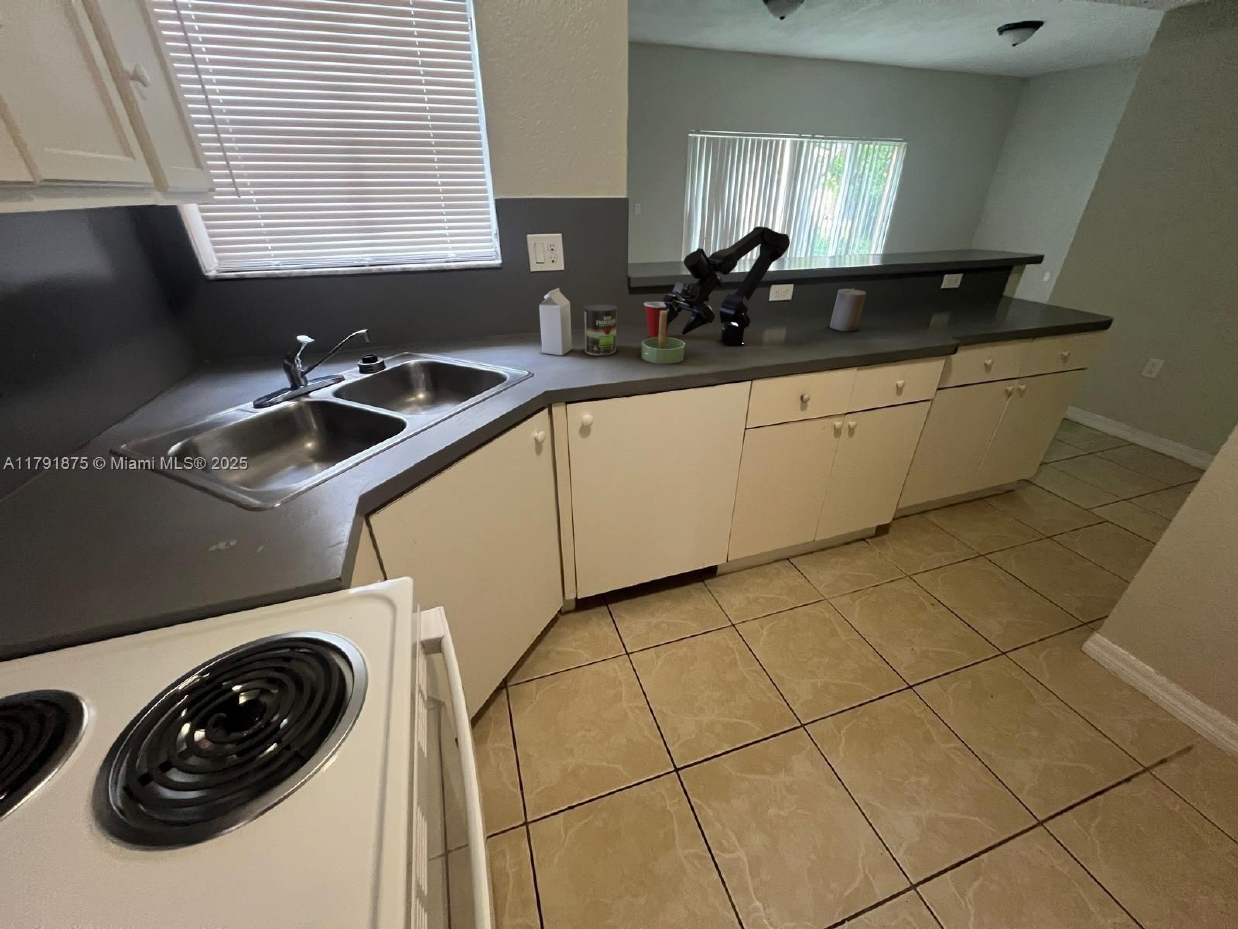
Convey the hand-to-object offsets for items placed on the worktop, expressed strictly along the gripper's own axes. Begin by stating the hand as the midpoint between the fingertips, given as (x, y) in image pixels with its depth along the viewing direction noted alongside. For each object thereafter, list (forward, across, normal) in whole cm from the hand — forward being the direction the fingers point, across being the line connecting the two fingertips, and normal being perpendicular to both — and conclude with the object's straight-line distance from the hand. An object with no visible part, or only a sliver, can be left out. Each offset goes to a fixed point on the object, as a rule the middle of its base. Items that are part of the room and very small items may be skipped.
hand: (672, 330), depth 149 cm
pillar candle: (-50, +10, +62) cm, 80 cm away
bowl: (+8, 0, +4) cm, 9 cm away
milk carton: (+26, -24, -14) cm, 37 cm away
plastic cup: (-1, -19, +13) cm, 23 cm away
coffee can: (+17, -17, -5) cm, 24 cm away
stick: (+8, 0, +3) cm, 9 cm away
